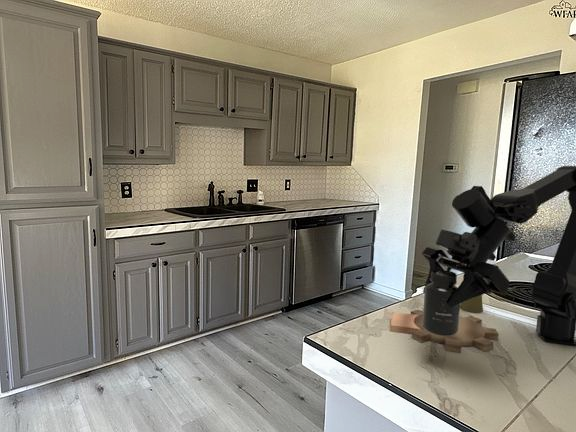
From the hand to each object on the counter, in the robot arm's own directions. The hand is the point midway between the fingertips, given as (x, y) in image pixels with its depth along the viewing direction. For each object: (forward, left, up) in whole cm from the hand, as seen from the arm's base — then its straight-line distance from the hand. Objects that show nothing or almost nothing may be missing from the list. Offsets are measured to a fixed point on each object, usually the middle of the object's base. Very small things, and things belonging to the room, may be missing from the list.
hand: (436, 299), depth 75 cm
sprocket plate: (-3, -17, -13) cm, 21 cm away
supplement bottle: (-1, -1, -7) cm, 7 cm away
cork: (-13, -35, -13) cm, 39 cm away
